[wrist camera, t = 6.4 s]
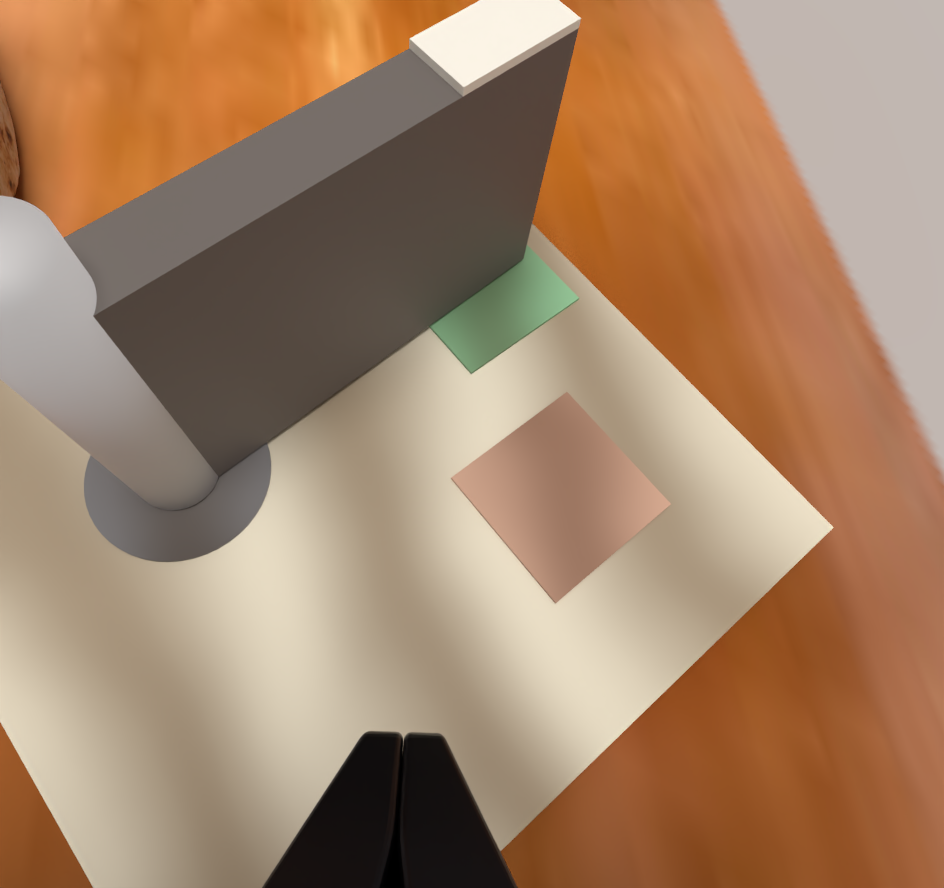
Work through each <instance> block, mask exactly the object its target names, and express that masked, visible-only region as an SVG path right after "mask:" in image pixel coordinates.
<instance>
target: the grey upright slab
mask: <svg viewBox="0 0 944 888" xmlns="http://www.w3.org/2000/svg"><path fill="white" fill-rule="evenodd" d="M580 20H581V18H580V17H579V16H577V15H576V14H575V13H574V12H573V11H571V10H570V9H569V8H568V7H566V6H565V5H564V4H563V3H561V2H560V1H559V0H480V1H478V2H476V3H474V4H472V5H471V6H469V7H467V8H465V9H463V10H461V11H460V12H458V13H456V14H454V15H452V16H450V17H449V18H447V19H445V20H443V21H441V22H439V23H437V24H436V25H434V26H432V27H430V28H428V29H426V30H425V31H423V32H421V33H419V34H417V35H415V36H413V37H412V38H410V39H409V49H408V50H406V51H404V52H402V53H400V54H399V55H397V56H395V57H393V58H391V59H389V60H388V61H386V62H384V63H382V64H380V65H378V66H377V67H375V68H373V69H371V70H369V71H368V72H366V73H364V74H362V75H360V76H358V77H357V78H355V79H353V80H351V81H349V82H347V83H346V84H344V85H342V86H340V87H338V88H337V89H335V90H333V91H331V92H329V93H327V94H326V95H324V96H322V97H320V98H318V99H316V100H315V101H313V102H311V103H309V104H307V105H305V106H304V107H302V108H300V109H298V110H296V111H295V112H293V113H291V114H289V115H287V116H285V117H284V118H282V119H280V120H278V121H276V122H274V123H273V124H271V125H269V126H267V127H265V128H263V129H262V130H260V131H258V132H256V133H254V134H253V135H251V136H249V137H247V138H245V139H243V140H242V141H240V142H238V143H236V144H234V145H232V146H231V147H229V148H227V149H225V150H223V151H221V152H220V153H218V154H216V155H214V156H212V157H211V158H209V159H207V160H205V161H203V162H201V163H200V164H198V165H196V166H194V167H192V168H190V169H189V170H187V171H185V172H183V173H181V174H180V175H178V176H176V177H174V178H172V179H170V180H169V181H167V182H165V183H163V184H161V185H159V186H158V187H156V188H154V189H152V190H150V191H148V192H147V193H145V194H143V195H141V196H139V197H138V198H136V199H134V200H132V201H130V202H128V203H127V204H125V205H123V206H121V207H119V208H117V209H116V210H114V211H112V212H110V213H108V214H106V215H105V216H103V217H101V218H99V219H97V220H96V221H94V222H92V223H90V224H88V225H86V226H85V227H83V228H81V229H79V230H77V231H75V232H74V233H72V234H70V235H68V236H66V237H64V238H63V237H62V235H61V234H60V233H59V231H58V230H57V228H56V227H55V226H54V224H53V223H52V222H51V220H50V219H49V217H48V216H47V215H46V214H45V213H44V212H42V211H41V210H40V209H39V208H37V207H36V206H34V205H32V204H30V203H28V202H26V201H23V200H20V199H17V198H13V197H7V196H0V379H1V380H2V381H3V382H4V383H6V384H7V385H8V386H9V387H10V388H11V389H13V390H14V391H15V392H16V393H17V394H19V395H20V396H21V397H22V398H23V399H25V400H26V401H27V402H28V403H29V404H31V405H32V406H33V407H34V408H35V409H36V410H38V411H39V412H40V413H41V414H42V415H44V416H45V417H46V418H47V419H48V420H50V421H51V422H52V423H53V424H54V425H56V426H57V427H58V428H59V429H60V430H62V431H63V432H64V433H65V434H66V435H67V436H69V437H70V438H71V439H72V440H73V441H75V442H76V443H77V444H78V445H79V446H81V447H82V448H83V449H84V450H85V451H87V452H88V453H89V454H90V455H91V456H93V457H94V458H95V459H96V460H97V461H98V462H100V463H101V464H102V465H103V466H104V467H106V468H107V469H108V470H109V471H110V472H112V473H113V474H114V475H115V476H116V477H118V478H119V479H120V480H121V481H122V482H123V483H125V484H126V485H127V486H128V487H129V488H131V489H132V490H133V491H134V492H135V493H137V494H138V495H139V496H140V497H141V498H143V499H144V500H145V501H146V502H147V503H149V504H150V505H152V506H154V507H156V508H159V509H163V510H181V509H185V508H188V507H191V506H193V505H195V504H197V503H198V502H200V501H202V500H203V499H204V498H205V497H206V496H207V495H208V494H209V493H210V492H211V491H212V489H213V488H214V486H215V484H216V482H217V480H218V477H219V476H220V475H221V474H223V473H224V472H226V471H227V470H228V469H230V468H231V467H233V466H234V465H235V464H237V463H238V462H240V461H241V460H242V459H244V458H245V457H247V456H248V455H249V454H251V453H252V452H254V451H255V450H256V449H258V448H259V447H261V446H262V445H263V444H265V443H266V442H268V441H269V440H270V439H272V438H273V437H275V436H276V435H277V434H279V433H280V432H282V431H283V430H284V429H286V428H287V427H289V426H290V425H291V424H293V423H294V422H296V421H297V420H298V419H300V418H301V417H303V416H304V415H305V414H307V413H308V412H310V411H311V410H312V409H314V408H315V407H317V406H318V405H319V404H321V403H322V402H324V401H325V400H326V399H328V398H329V397H331V396H332V395H333V394H335V393H336V392H338V391H339V390H340V389H342V388H343V387H345V386H346V385H347V384H349V383H350V382H352V381H353V380H354V379H356V378H357V377H359V376H360V375H361V374H363V373H364V372H366V371H367V370H368V369H370V368H371V367H373V366H374V365H375V364H377V363H378V362H380V361H381V360H382V359H384V358H385V357H387V356H388V355H389V354H391V353H392V352H394V351H395V350H396V349H398V348H399V347H401V346H402V345H403V344H405V343H406V342H408V341H409V340H410V339H412V338H413V337H415V336H416V335H417V334H419V333H420V332H422V331H423V330H424V329H426V328H427V327H429V326H430V325H431V324H433V323H434V322H436V321H437V320H438V319H440V318H441V317H443V316H444V315H445V314H447V313H448V312H450V311H451V310H452V309H454V308H455V307H457V306H458V305H459V304H461V303H462V302H464V301H465V300H466V299H468V298H469V297H471V296H472V295H473V294H475V293H476V292H478V291H479V290H480V289H482V288H483V287H485V286H486V285H487V284H489V283H490V282H492V281H493V280H494V279H496V278H497V277H499V276H500V275H501V274H503V273H504V272H506V271H507V270H508V269H510V268H511V267H513V266H514V265H515V264H517V263H518V262H520V261H521V260H522V259H524V254H525V250H526V246H527V242H528V238H529V233H530V229H531V225H532V221H533V217H534V213H535V208H536V204H537V200H538V196H539V192H540V187H541V183H542V179H543V175H544V171H545V167H546V162H547V158H548V154H549V150H550V146H551V141H552V137H553V133H554V129H555V125H556V121H557V116H558V112H559V108H560V104H561V100H562V95H563V91H564V87H565V83H566V79H567V75H568V70H569V66H570V62H571V58H572V54H573V49H574V45H575V41H576V37H577V33H578V29H579V24H580Z"/></svg>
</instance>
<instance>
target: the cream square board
mask: <svg viewBox="0 0 944 888" xmlns="http://www.w3.org/2000/svg"><path fill="white" fill-rule="evenodd" d="M832 528H833V526H832V525H831V524H830V523H829V522H828V521H827V520H826V519H825V518H824V517H823V516H822V515H821V514H820V513H819V512H818V511H817V510H816V509H815V508H814V507H813V506H812V505H811V504H810V503H809V502H808V501H807V500H806V499H805V498H804V497H803V496H802V495H801V494H800V493H799V492H798V491H797V490H796V489H795V488H794V487H793V486H792V485H791V484H790V483H789V482H788V481H787V480H786V479H785V478H784V477H783V476H782V475H781V474H780V473H779V472H778V471H777V470H776V469H775V468H774V467H773V466H772V465H771V464H770V463H769V462H768V461H767V460H766V459H765V458H764V457H763V456H762V455H761V454H760V453H759V452H758V451H757V450H756V449H755V448H754V447H753V446H752V445H751V444H750V443H749V442H748V441H747V440H746V439H745V438H744V437H743V436H742V435H741V434H740V433H739V432H738V431H737V430H736V429H735V428H734V427H733V426H732V425H731V424H730V423H729V422H728V421H727V420H726V419H725V418H724V416H723V415H722V414H721V413H720V412H719V411H718V410H717V409H716V408H715V407H714V406H713V405H712V404H711V403H710V402H709V401H708V400H707V399H706V398H705V397H704V396H703V395H702V394H701V393H700V392H699V391H698V390H697V389H696V388H695V387H694V386H693V385H692V384H691V383H690V382H689V381H688V380H687V379H686V378H685V377H684V376H683V375H682V374H681V373H680V372H679V371H678V370H677V369H676V368H675V367H674V366H673V365H672V364H671V363H670V362H669V361H668V360H667V359H666V358H665V357H664V356H663V355H662V354H661V353H660V352H659V351H658V350H657V349H656V348H655V347H654V346H653V345H652V344H651V343H650V342H649V341H648V340H647V339H646V338H645V337H644V336H643V335H642V334H641V333H640V332H639V331H638V330H637V329H636V328H635V327H634V326H633V325H632V324H631V323H630V322H629V321H628V320H627V319H626V318H625V317H624V316H623V315H622V314H621V313H620V312H619V311H618V310H617V309H616V308H615V307H614V306H613V305H612V304H611V303H610V302H609V301H608V299H607V298H606V297H605V296H604V295H603V294H602V293H601V292H600V291H599V290H598V289H597V288H596V287H595V286H594V285H593V284H592V283H591V282H590V281H589V280H588V279H587V278H586V277H585V276H584V275H583V274H582V273H581V272H580V271H579V270H578V269H577V268H576V267H575V266H574V265H573V264H572V263H571V262H570V261H569V260H568V259H567V258H566V257H565V256H564V255H563V254H562V253H561V252H560V251H559V250H558V249H557V248H556V247H555V246H554V245H553V244H552V243H551V242H550V241H549V240H548V239H547V238H546V237H545V236H544V235H543V234H542V233H541V232H540V231H539V230H538V229H537V228H536V227H535V226H534V225H533V224H532V225H531V229H530V233H529V238H528V242H527V246H526V250H525V254H524V259H522V260H521V261H520V262H518V263H517V264H515V265H514V266H513V267H511V268H510V269H508V270H507V271H506V272H504V273H503V274H501V275H500V276H499V277H497V278H496V279H494V280H493V281H492V282H490V283H489V284H487V285H486V286H485V287H483V288H482V289H480V290H479V291H478V292H476V293H475V294H473V295H472V296H471V297H469V298H468V299H466V300H465V301H464V302H462V303H461V304H459V305H458V306H457V307H455V308H454V309H452V310H451V311H450V312H448V313H447V314H445V315H444V316H443V317H441V318H440V319H438V320H437V321H436V322H434V323H433V324H431V325H430V326H429V327H427V328H426V329H424V330H423V331H422V332H420V333H419V334H417V335H416V336H415V337H413V338H412V339H410V340H409V341H408V342H406V343H405V344H403V345H402V346H401V347H399V348H398V349H396V350H395V351H394V352H392V353H391V354H389V355H388V356H387V357H385V358H384V359H382V360H381V361H380V362H378V363H377V364H375V365H374V366H373V367H371V368H370V369H368V370H367V371H366V372H364V373H363V374H361V375H360V376H359V377H357V378H356V379H354V380H353V381H352V382H350V383H349V384H347V385H346V386H345V387H343V388H342V389H340V390H339V391H338V392H336V393H335V394H333V395H332V396H331V397H329V398H328V399H326V400H325V401H324V402H322V403H321V404H319V405H318V406H317V407H315V408H314V409H312V410H311V411H310V412H308V413H307V414H305V415H304V416H303V417H301V418H300V419H298V420H297V421H296V422H294V423H293V424H291V425H290V426H289V427H287V428H286V429H284V430H283V431H282V432H280V433H279V434H277V435H276V436H275V437H273V438H272V439H270V440H269V441H268V442H266V443H265V444H263V445H262V446H261V447H259V448H258V449H256V450H255V451H254V452H252V453H251V454H249V455H248V456H247V457H245V458H244V459H242V460H241V461H240V462H238V463H237V464H235V465H234V466H233V467H231V468H230V469H228V470H227V471H226V472H224V473H223V474H221V475H220V476H219V477H218V480H217V482H216V484H215V486H214V488H213V489H212V491H211V492H210V493H209V494H208V495H207V496H206V497H205V498H204V499H203V500H202V501H200V502H198V503H197V504H195V505H193V506H191V507H188V508H185V509H181V510H163V509H159V508H156V507H154V506H152V505H150V504H149V503H147V502H146V501H145V500H144V499H143V498H141V497H140V496H139V495H138V494H137V493H135V492H134V491H133V490H132V489H131V488H129V487H128V486H127V485H126V484H125V483H123V482H122V481H121V480H120V479H119V478H118V477H116V476H115V475H114V474H113V473H112V472H110V471H109V470H108V469H107V468H106V467H104V466H103V465H102V464H101V463H100V462H98V461H97V460H96V459H95V458H94V457H93V456H91V455H90V454H89V453H88V452H87V451H85V450H84V449H83V448H82V447H81V446H79V445H78V444H77V443H76V442H75V441H73V440H72V439H71V438H70V437H69V436H67V435H66V434H65V433H64V432H63V431H62V430H60V429H59V428H58V427H57V426H56V425H54V424H53V423H52V422H51V421H50V420H48V419H47V418H46V417H45V416H44V415H42V414H41V413H40V412H39V411H38V410H36V409H35V408H34V407H33V406H32V405H31V404H29V403H28V402H27V401H26V400H25V399H23V398H22V397H21V396H20V395H19V394H17V393H16V392H15V391H14V390H13V389H11V388H10V387H9V386H8V385H7V384H6V383H4V382H3V381H2V380H1V379H0V722H1V724H2V726H3V727H4V729H5V731H6V733H7V735H8V736H9V738H10V740H11V742H12V744H13V745H14V747H15V749H16V751H17V752H18V754H19V756H20V758H21V760H22V761H23V763H24V765H25V767H26V769H27V770H28V772H29V774H30V776H31V777H32V779H33V781H34V783H35V785H36V786H37V788H38V790H39V792H40V794H41V795H42V797H43V799H44V801H45V802H46V804H47V806H48V808H49V810H50V811H51V813H52V815H53V817H54V819H55V820H56V822H57V824H58V826H59V827H60V829H61V831H62V833H63V835H64V836H65V838H66V840H67V842H68V844H69V845H70V847H71V849H72V851H73V852H74V854H75V856H76V858H77V860H78V861H79V863H80V865H81V867H82V869H83V870H84V872H85V874H86V876H87V877H88V879H89V881H90V883H91V885H92V886H93V888H262V886H263V885H264V883H265V882H266V880H267V879H268V877H269V876H270V874H271V873H272V871H273V870H274V868H275V866H276V865H277V863H278V862H279V860H280V859H281V857H282V856H283V854H284V853H285V851H286V850H287V848H288V847H289V845H290V844H291V842H292V841H293V839H294V838H295V836H296V834H297V833H298V831H299V830H300V828H301V827H302V825H303V824H304V822H305V821H306V819H307V818H308V816H309V815H310V813H311V812H312V810H313V809H314V807H315V806H316V804H317V802H318V801H319V799H320V798H321V796H322V795H323V793H324V792H325V790H326V789H327V787H328V786H329V784H330V783H331V781H332V780H333V778H334V777H335V775H336V773H337V772H338V770H339V769H340V767H341V766H342V764H343V763H344V761H345V760H346V758H347V757H348V755H349V754H350V752H351V751H352V749H353V748H354V746H355V745H356V743H357V741H358V740H359V738H360V737H361V736H362V735H363V734H364V733H365V732H367V731H390V732H399V733H401V734H402V736H403V742H404V737H405V735H406V734H407V733H409V732H423V733H440V734H442V735H443V736H444V737H445V739H446V740H447V742H448V744H449V746H450V748H451V750H452V753H453V755H454V757H455V759H456V761H457V763H458V765H459V767H460V769H461V771H462V773H463V775H464V777H465V779H466V781H467V784H468V786H469V788H470V790H471V792H472V794H473V796H474V798H475V800H476V802H477V804H478V806H479V808H480V810H481V812H482V815H483V817H484V819H485V821H486V823H487V825H488V827H489V829H490V831H491V833H492V835H493V837H494V839H495V841H496V843H497V846H498V848H499V850H500V851H501V850H502V849H503V848H504V847H505V846H506V845H507V844H508V843H510V842H511V841H512V840H513V839H514V838H515V837H516V836H517V835H518V834H519V833H520V832H521V831H522V830H523V829H524V828H525V827H526V826H527V825H528V824H529V823H530V822H531V821H532V820H533V819H534V818H535V817H536V816H537V815H538V814H539V813H540V812H541V811H542V810H543V809H544V808H546V807H547V806H548V805H549V804H550V803H551V802H552V801H553V800H554V799H555V798H556V797H557V796H558V795H559V794H560V793H561V792H562V791H563V790H564V789H565V788H566V787H567V786H568V785H569V784H570V783H571V782H572V781H573V780H574V779H575V778H576V777H577V776H578V775H579V774H580V773H582V772H583V771H584V770H585V769H586V768H587V767H588V766H589V765H590V764H591V763H592V762H593V761H594V760H595V759H596V758H597V757H598V756H599V755H600V754H601V753H602V752H603V751H604V750H605V749H606V748H607V747H608V746H609V745H610V744H611V743H612V742H613V741H614V740H615V739H616V738H618V737H619V736H620V735H621V734H622V733H623V732H624V731H625V730H626V729H627V728H628V727H629V726H630V725H631V724H632V723H633V722H634V721H635V720H636V719H637V718H638V717H639V716H640V715H641V714H642V713H643V712H644V711H645V710H646V709H647V708H648V707H649V706H650V705H651V704H652V703H654V702H655V701H656V700H657V699H658V698H659V697H660V696H661V695H662V694H663V693H664V692H665V691H666V690H667V689H668V688H669V687H670V686H671V685H672V684H673V683H674V682H675V681H676V680H677V679H678V678H679V677H680V676H681V675H682V674H683V673H684V672H685V671H686V670H687V669H688V668H690V667H691V666H692V665H693V664H694V663H695V662H696V661H697V660H698V659H699V658H700V657H701V656H702V655H703V654H704V653H705V652H706V651H707V650H708V649H709V648H710V647H711V646H712V645H713V644H714V643H715V642H716V641H717V640H718V639H719V638H720V637H721V636H722V635H723V634H724V633H726V632H727V631H728V630H729V629H730V628H731V627H732V626H733V625H734V624H735V623H736V622H737V621H738V620H739V619H740V618H741V617H742V616H743V615H744V614H745V613H746V612H747V611H748V610H749V609H750V608H751V607H752V606H753V605H754V604H755V603H756V602H757V601H758V600H759V599H760V598H762V597H763V596H764V595H765V594H766V593H767V592H768V591H769V590H770V589H771V588H772V587H773V586H774V585H775V584H776V583H777V582H778V581H779V580H780V579H781V578H782V577H783V576H784V575H785V574H786V573H787V572H788V571H789V570H790V569H791V568H792V567H793V566H794V565H795V564H796V563H797V562H799V561H800V560H801V559H802V558H803V557H804V556H805V555H806V554H807V553H808V552H809V551H810V550H811V549H812V548H813V547H814V546H815V545H816V544H817V543H818V542H819V541H820V540H821V539H822V538H823V537H824V536H825V535H826V534H827V533H828V532H829V531H830V530H831V529H832Z"/></svg>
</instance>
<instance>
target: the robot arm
mask: <svg viewBox="0 0 944 888" xmlns="http://www.w3.org/2000/svg"><path fill="white" fill-rule="evenodd" d="M262 888H518V887H517V885H516V883H515V881H514V879H513V877H512V875H511V872H510V870H509V868H508V866H507V864H506V862H505V860H504V858H503V856H502V854H501V852H500V850H499V848H498V846H497V843H496V841H495V839H494V837H493V835H492V833H491V831H490V829H489V827H488V825H487V823H486V821H485V819H484V817H483V815H482V812H481V810H480V808H479V806H478V804H477V802H476V800H475V798H474V796H473V794H472V792H471V790H470V788H469V786H468V784H467V781H466V779H465V777H464V775H463V773H462V771H461V769H460V767H459V765H458V763H457V761H456V759H455V757H454V755H453V753H452V750H451V748H450V746H449V744H448V742H447V740H446V739H445V737H444V736H443V735H442V734H440V733H423V732H409V733H407V734H406V735H405V737H404V742H403V736H402V734H401V733H399V732H390V731H367V732H365V733H364V734H363V735H362V736H361V737H360V738H359V740H358V741H357V743H356V745H355V746H354V748H353V749H352V751H351V752H350V754H349V755H348V757H347V758H346V760H345V761H344V763H343V764H342V766H341V767H340V769H339V770H338V772H337V773H336V775H335V777H334V778H333V780H332V781H331V783H330V784H329V786H328V787H327V789H326V790H325V792H324V793H323V795H322V796H321V798H320V799H319V801H318V802H317V804H316V806H315V807H314V809H313V810H312V812H311V813H310V815H309V816H308V818H307V819H306V821H305V822H304V824H303V825H302V827H301V828H300V830H299V831H298V833H297V834H296V836H295V838H294V839H293V841H292V842H291V844H290V845H289V847H288V848H287V850H286V851H285V853H284V854H283V856H282V857H281V859H280V860H279V862H278V863H277V865H276V866H275V868H274V870H273V871H272V873H271V874H270V876H269V877H268V879H267V880H266V882H265V883H264V885H263V886H262Z"/></svg>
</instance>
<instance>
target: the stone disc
mask: <svg viewBox="0 0 944 888" xmlns="http://www.w3.org/2000/svg"><path fill="white" fill-rule="evenodd" d="M19 174H20V167H19V160H18V152H17V145H16V138H15V132H14V127H13V122H12V119H11V115H10V112H9V108H8V105H7V101H6V98H5V94H4V91H3V88H2V85H1V82H0V196H7V197H13V198H14V196H15V194H16V189H17V186H18V178H19Z"/></svg>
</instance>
